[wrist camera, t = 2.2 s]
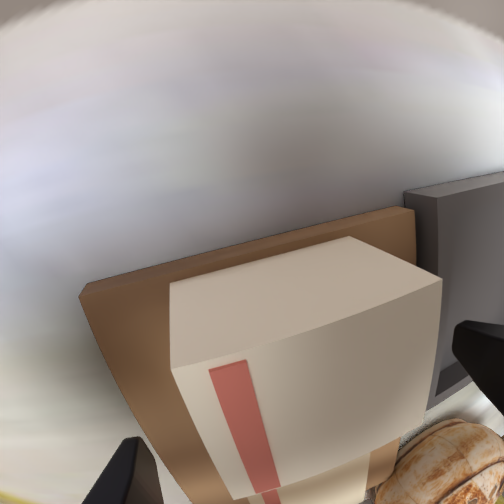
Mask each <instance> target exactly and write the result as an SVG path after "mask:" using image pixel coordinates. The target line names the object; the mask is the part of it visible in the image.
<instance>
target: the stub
mask: <svg viewBox="0 0 504 504" xmlns="http://www.w3.org/2000/svg"><path fill="white" fill-rule="evenodd" d="M442 281H443V279H442V278H440V277H438V276H436V275H433V274H431V273H429V272H427V271H425V270H423V269H421V268H419V267H417V266H415V265H412V264H410V263H408V262H406V261H404V260H402V259H400V258H397V257H395V256H393V255H391V254H389V253H387V252H384V251H382V250H380V249H378V248H375V247H373V246H371V245H369V244H367V243H364V242H362V241H360V240H358V239H355V238H353V237H351V236H347V237H343V238H339V239H336V240H332V241H328V242H324V243H321V244H317V245H313V246H309V247H306V248H302V249H298V250H294V251H291V252H287V253H283V254H279V255H276V256H272V257H268V258H264V259H260V260H257V261H253V262H249V263H245V264H241V265H237V266H234V267H230V268H226V269H222V270H218V271H214V272H211V273H207V274H203V275H199V276H195V277H191V278H187V279H184V280H180V281H176V282H172V283H170V367H171V372H172V374H173V376H174V379H175V381H176V384H177V386H178V388H179V391H180V393H181V395H182V398H183V400H184V402H185V404H186V407H187V409H188V411H189V413H190V416H191V418H192V420H193V422H194V424H195V426H196V429H197V431H198V433H199V435H200V437H201V439H202V441H203V443H204V445H205V447H206V449H207V451H208V453H209V455H210V457H211V459H212V461H213V463H214V465H215V467H216V469H217V471H218V473H219V474H220V476H221V478H222V480H223V482H224V484H225V486H226V487H227V489H228V491H229V493H230V495H231V496H232V498H233V500H236V499H240V498H244V497H248V496H252V495H256V494H259V493H263V492H267V491H270V490H273V489H277V488H280V487H283V486H286V485H289V484H292V483H295V482H298V481H301V480H304V479H307V478H309V477H312V476H315V475H318V474H320V473H323V472H325V471H328V470H330V469H333V468H335V467H338V466H340V465H343V464H345V463H347V462H350V461H352V460H354V459H356V458H358V457H361V456H363V455H365V454H367V453H369V452H371V451H373V450H375V449H378V448H380V447H382V446H384V445H386V444H387V443H389V442H391V441H393V440H395V439H397V438H399V437H401V436H403V435H404V434H406V433H408V432H410V431H412V430H413V429H415V428H417V427H419V426H420V425H422V424H423V420H424V416H425V411H426V406H427V402H428V397H429V392H430V386H431V381H432V375H433V369H434V363H435V356H436V348H437V341H438V332H439V323H440V312H441V299H442Z"/></svg>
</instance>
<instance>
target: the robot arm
mask: <svg viewBox="0 0 504 504" xmlns="http://www.w3.org/2000/svg"><path fill="white" fill-rule="evenodd" d="M452 353H453V355H454V356H455V357H456V359H457V360H458V361H459V362H460V364H461V365H462V366H463V368H464V369H465V370H466V372H467V373H468V374H469V376H470V377H471V378H472V380H473V381H474V383H475V384H476V385H477V386H478V388H479V389H480V390H481V391H482V392H483V393H484V394H485V396H486V397H487V398H488V399H489V400H490V401H491V402H492V403H493V405H494V406H495V407H496V408H497V409H498V410H499V411H500V412H501V414H502V415H503V416H504V325H500V324H493V323H486V322H478V321H472V320H464V321H462V322H460V323H459V324H457V325H456V326H455V328H454V333H453V340H452ZM82 504H164V502H163V497H162V492H161V487H160V482H159V477H158V472H157V466H156V462H155V459H154V456H153V455H152V453H151V452H150V450H149V448H148V447H147V445H146V444H145V442H144V441H143V439H142V438H141V437H138V436H137V437H131V438H126V439H124V440H123V441H122V443H121V444H120V446H119V447H118V449H117V450H116V452H115V453H114V455H113V456H112V458H111V460H110V461H109V463H108V464H107V466H106V467H105V469H104V470H103V472H102V473H101V475H100V476H99V478H98V479H97V481H96V482H95V484H94V486H93V487H92V489H91V490H90V492H89V493H88V495H87V496H86V498H85V499H84V501H83V502H82Z"/></svg>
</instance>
